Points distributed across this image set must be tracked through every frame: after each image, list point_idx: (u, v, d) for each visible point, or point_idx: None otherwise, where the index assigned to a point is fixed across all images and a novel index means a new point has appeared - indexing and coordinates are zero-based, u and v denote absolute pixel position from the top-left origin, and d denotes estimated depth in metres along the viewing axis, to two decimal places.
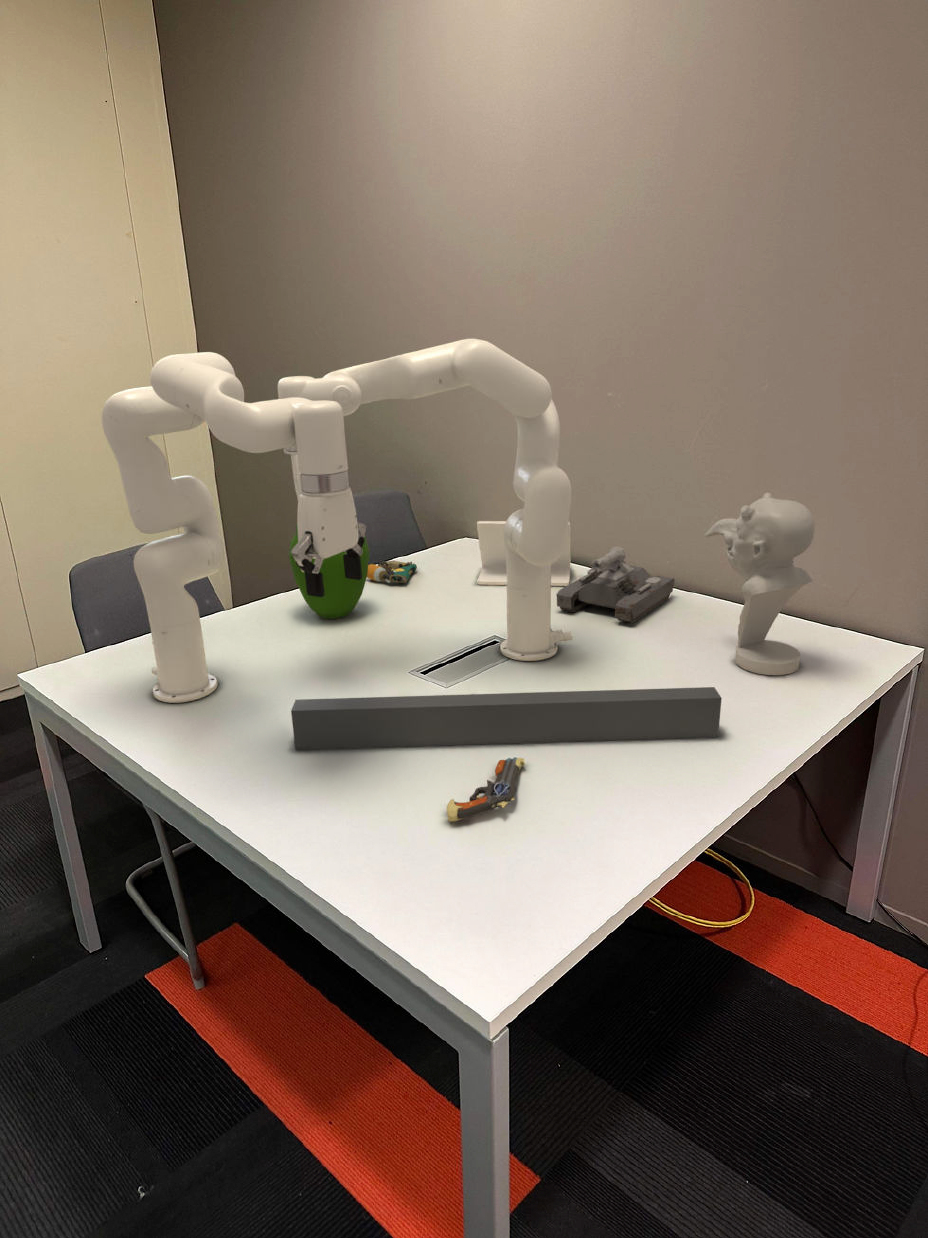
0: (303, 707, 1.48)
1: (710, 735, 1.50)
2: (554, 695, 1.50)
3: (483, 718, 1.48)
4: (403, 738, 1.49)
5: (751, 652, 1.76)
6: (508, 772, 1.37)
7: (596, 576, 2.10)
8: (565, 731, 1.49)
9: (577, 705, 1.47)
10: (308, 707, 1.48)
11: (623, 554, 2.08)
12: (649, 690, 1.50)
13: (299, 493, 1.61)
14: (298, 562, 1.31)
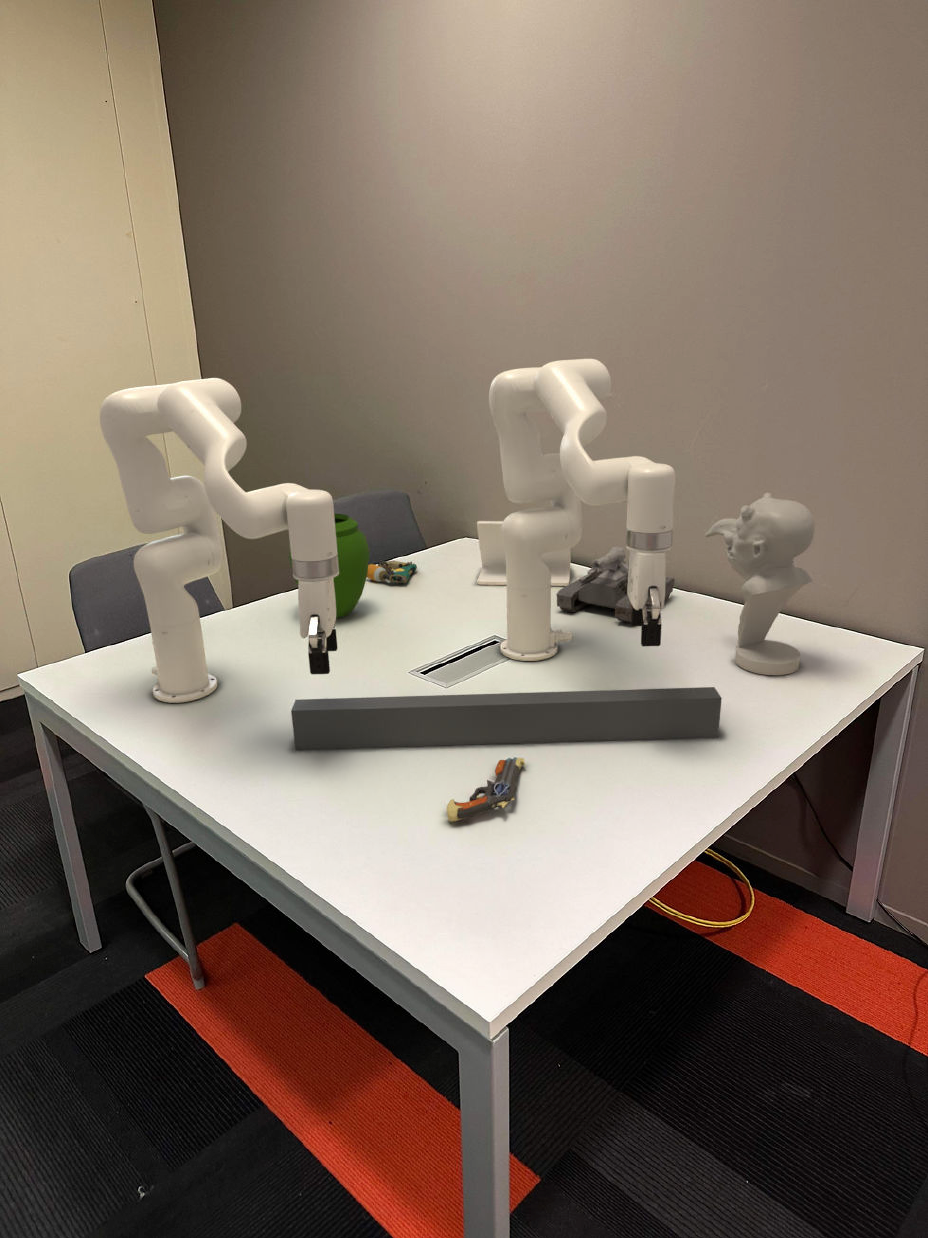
0: (303, 707, 1.48)
1: (710, 735, 1.50)
2: (554, 695, 1.50)
3: (483, 718, 1.48)
4: (403, 738, 1.49)
5: (751, 652, 1.76)
6: (508, 772, 1.37)
7: (596, 576, 2.10)
8: (565, 731, 1.49)
9: (577, 705, 1.47)
10: (308, 707, 1.48)
11: (623, 554, 2.08)
12: (649, 690, 1.50)
13: None
14: (313, 645, 1.37)
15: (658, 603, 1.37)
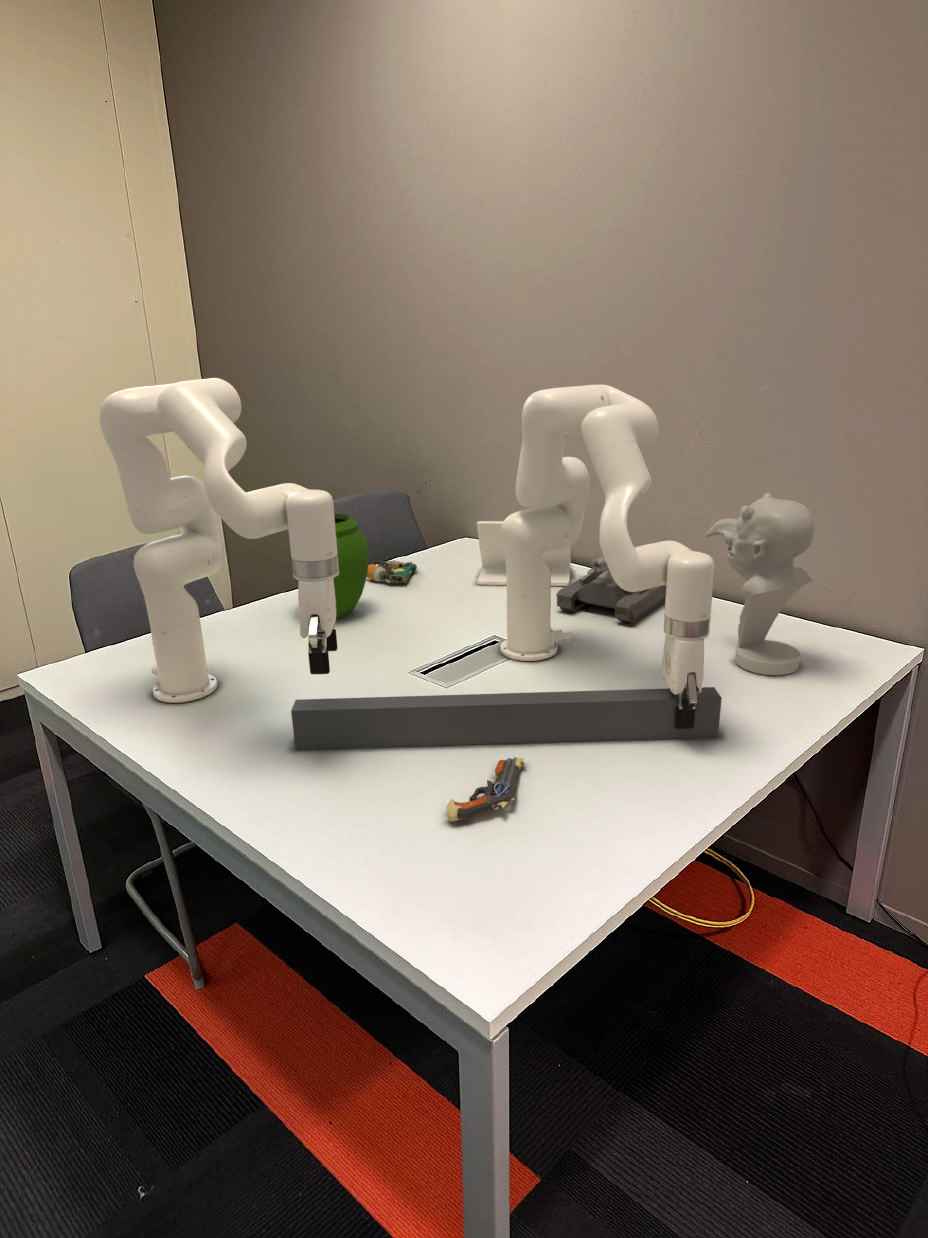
0: (303, 707, 1.48)
1: (710, 735, 1.50)
2: (554, 695, 1.50)
3: (483, 718, 1.48)
4: (403, 738, 1.49)
5: (751, 652, 1.76)
6: (508, 772, 1.37)
7: (596, 576, 2.10)
8: (565, 731, 1.49)
9: (577, 705, 1.47)
10: (308, 706, 1.48)
11: None
12: (649, 690, 1.50)
13: None
14: (313, 645, 1.37)
15: (695, 698, 1.42)
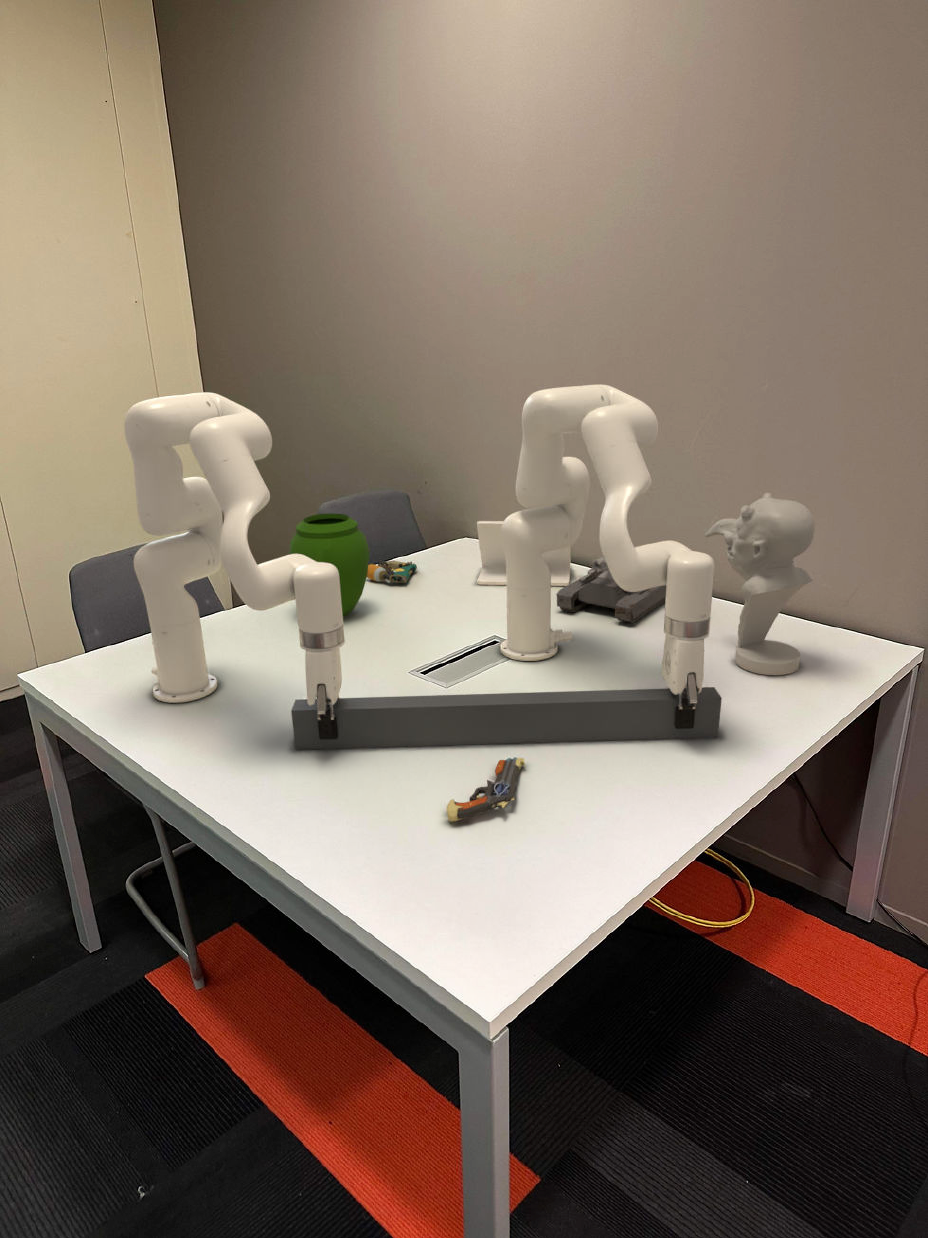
0: (303, 707, 1.48)
1: (710, 735, 1.49)
2: (554, 695, 1.50)
3: (483, 718, 1.48)
4: (403, 738, 1.49)
5: (751, 652, 1.76)
6: (508, 772, 1.37)
7: (596, 576, 2.10)
8: (565, 731, 1.49)
9: (577, 705, 1.47)
10: (308, 706, 1.48)
11: None
12: (649, 690, 1.50)
13: None
14: None
15: (695, 698, 1.42)
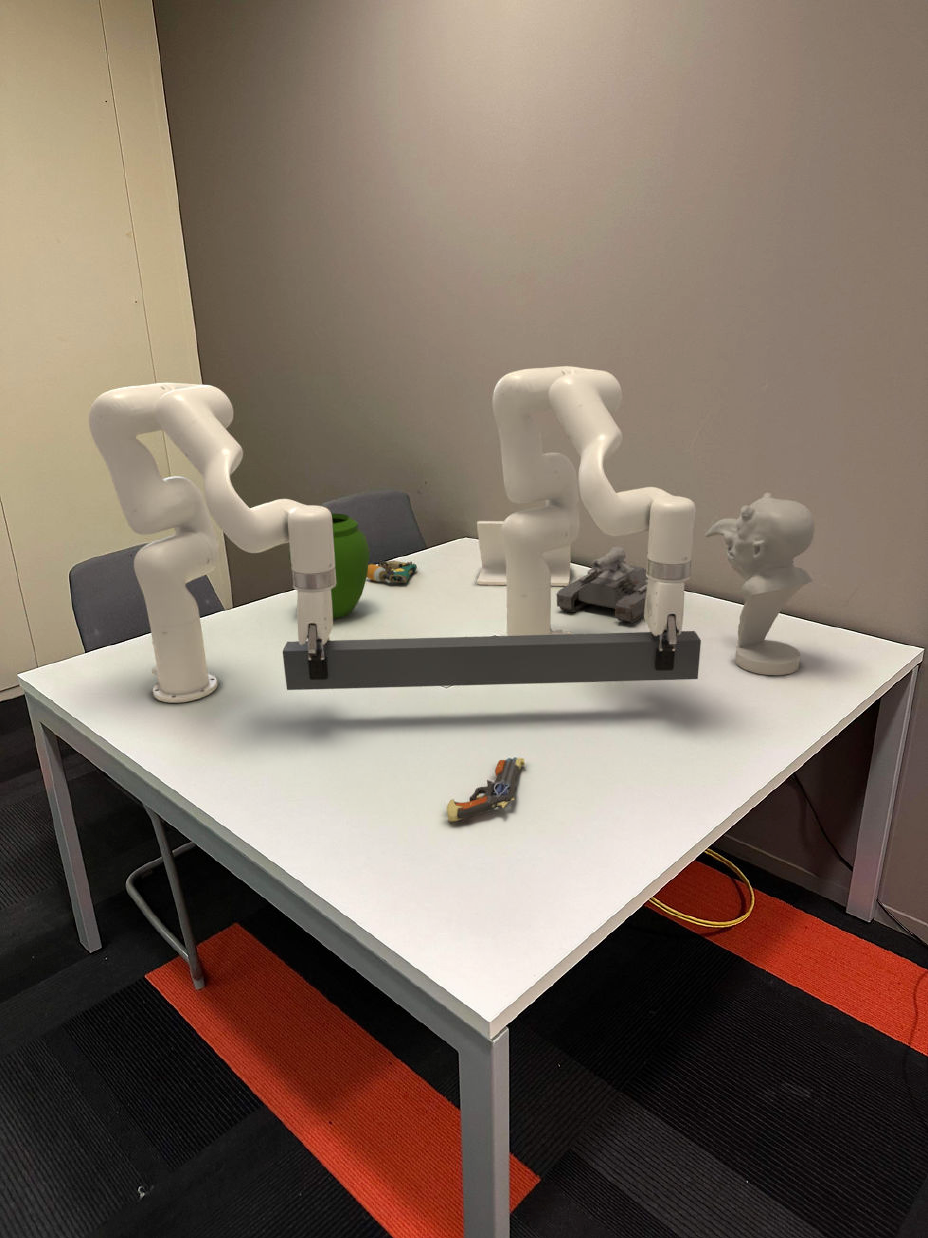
0: (294, 648, 1.52)
1: (690, 677, 1.54)
2: (538, 638, 1.54)
3: (469, 660, 1.52)
4: (391, 679, 1.53)
5: (751, 652, 1.76)
6: (508, 772, 1.37)
7: (596, 576, 2.10)
8: (549, 673, 1.53)
9: (560, 646, 1.51)
10: (299, 647, 1.52)
11: (623, 554, 2.08)
12: (631, 633, 1.55)
13: None
14: None
15: (675, 639, 1.46)
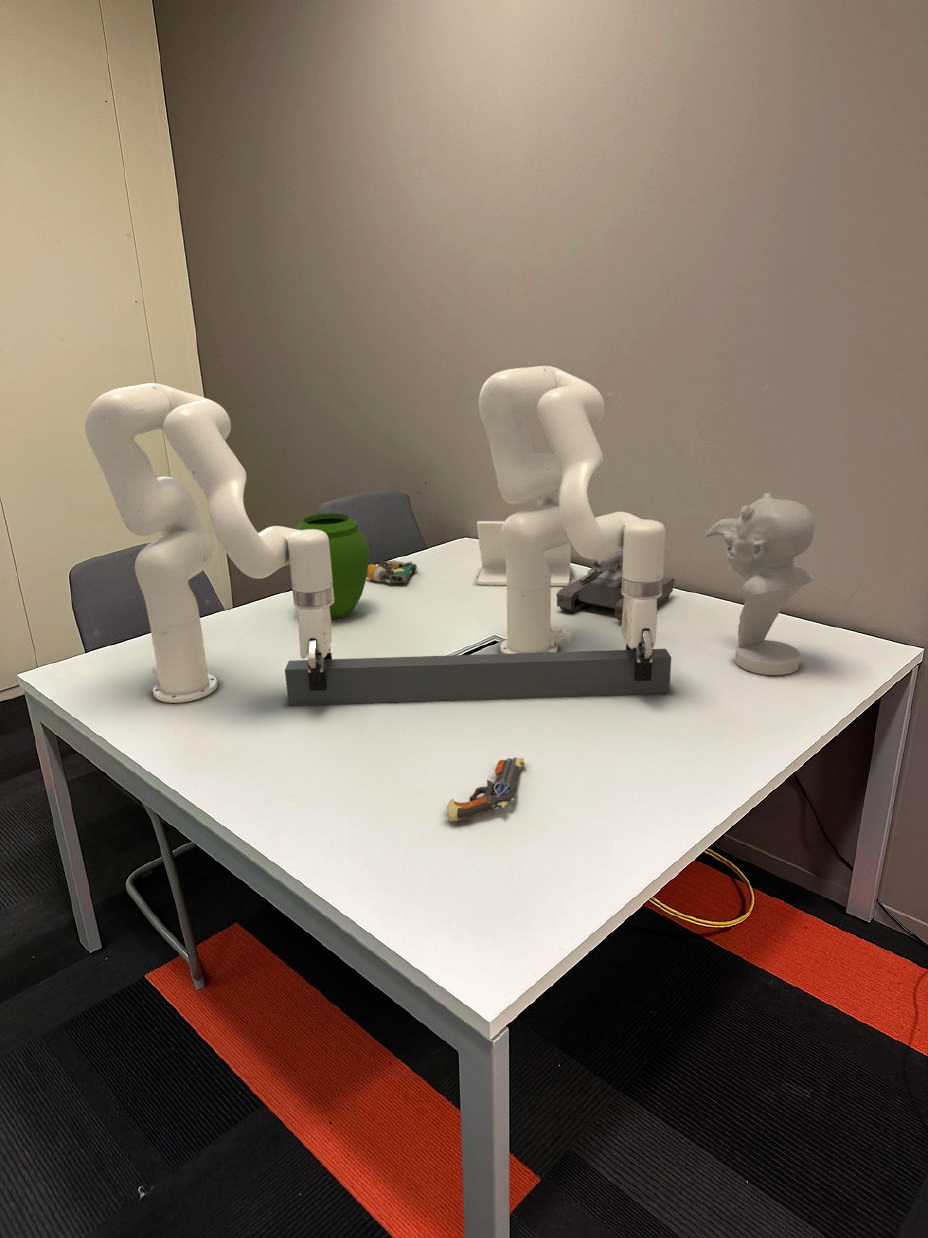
0: (295, 666, 1.65)
1: (662, 691, 1.66)
2: (521, 656, 1.66)
3: (457, 676, 1.65)
4: (385, 695, 1.66)
5: (751, 652, 1.76)
6: (508, 772, 1.37)
7: (596, 576, 2.10)
8: (531, 688, 1.66)
9: (542, 664, 1.64)
10: (300, 666, 1.65)
11: None
12: (607, 651, 1.67)
13: None
14: (312, 666, 1.58)
15: (650, 647, 1.56)
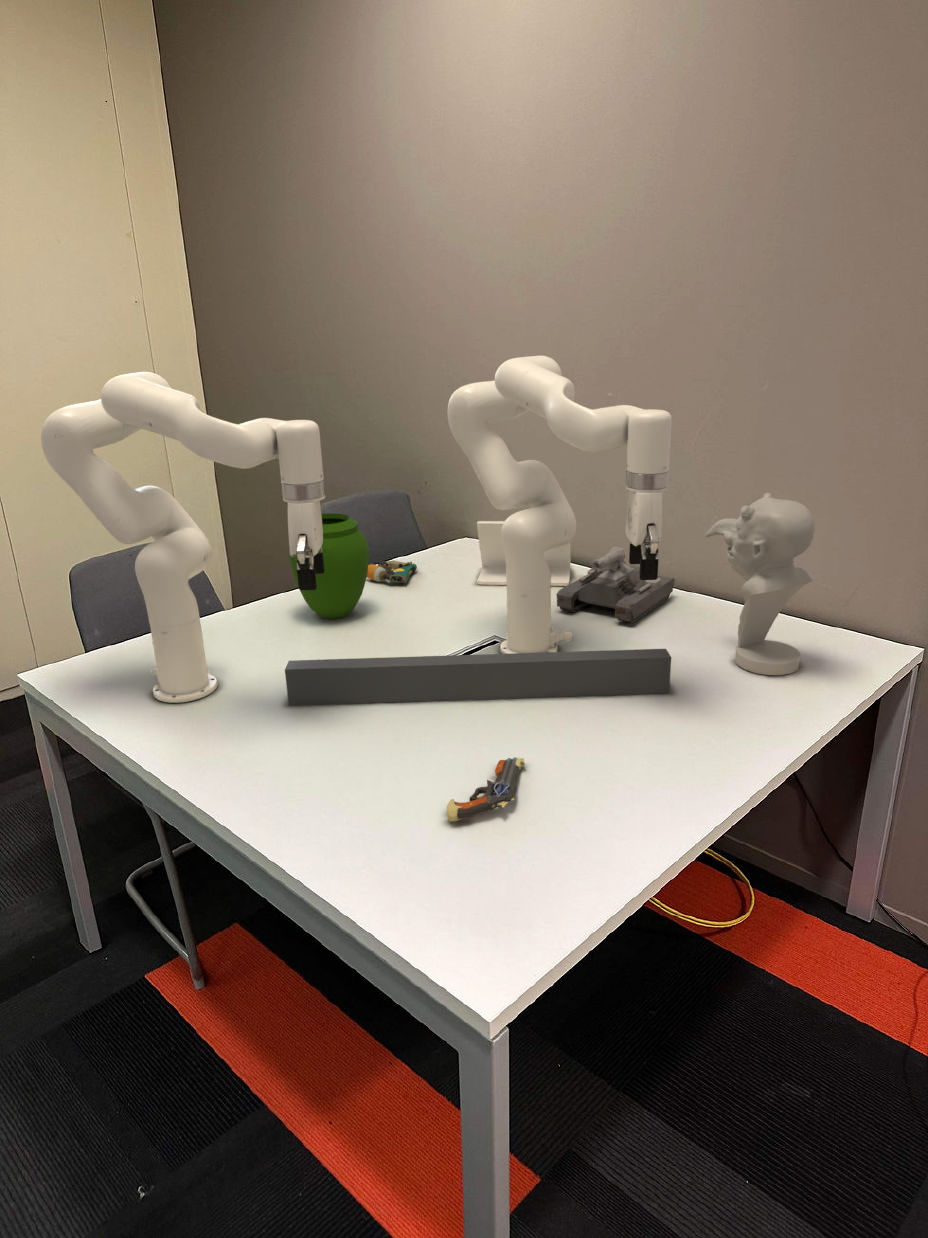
0: (295, 666, 1.65)
1: (662, 691, 1.66)
2: (521, 656, 1.66)
3: (457, 676, 1.65)
4: (385, 695, 1.66)
5: (751, 652, 1.76)
6: (508, 772, 1.37)
7: (596, 576, 2.10)
8: (531, 688, 1.66)
9: (542, 664, 1.64)
10: (300, 666, 1.65)
11: (623, 554, 2.08)
12: (607, 651, 1.67)
13: None
14: (301, 561, 1.50)
15: (656, 538, 1.49)
